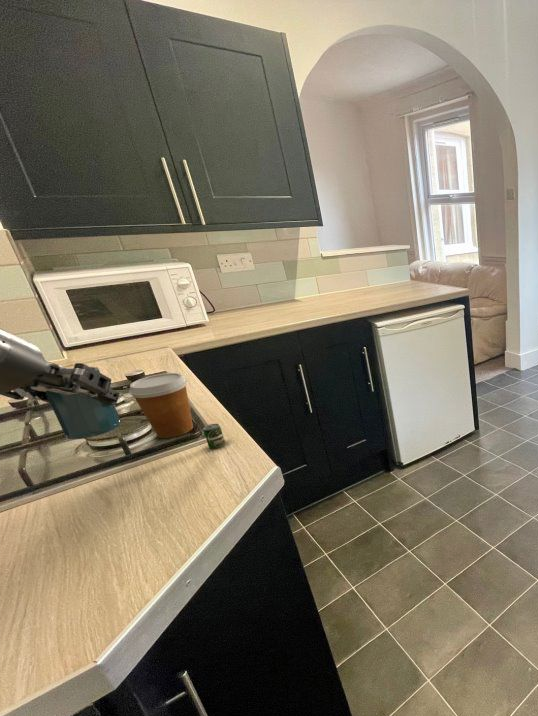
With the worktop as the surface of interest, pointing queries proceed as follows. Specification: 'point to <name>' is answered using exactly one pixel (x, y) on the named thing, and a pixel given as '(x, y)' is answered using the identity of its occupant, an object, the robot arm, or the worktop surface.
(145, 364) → the worktop surface
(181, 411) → the disposable coffee cup
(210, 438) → the beer can
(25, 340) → the robot arm
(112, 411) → the cup
